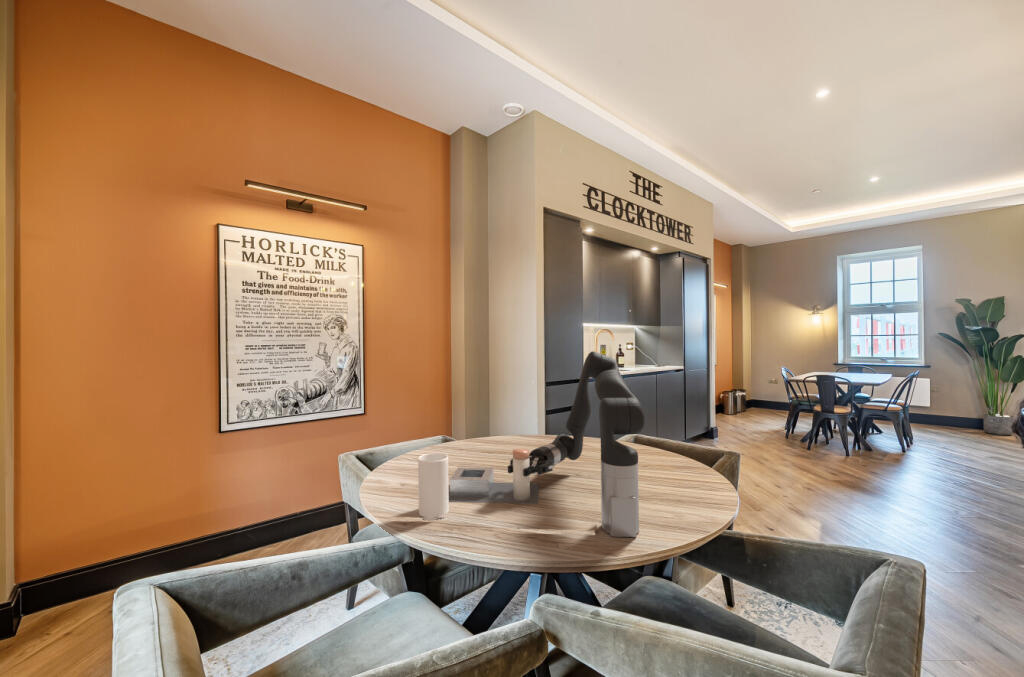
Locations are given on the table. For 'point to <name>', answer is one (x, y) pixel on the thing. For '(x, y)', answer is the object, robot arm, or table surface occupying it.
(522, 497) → the peg
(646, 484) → the table surface
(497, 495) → the mat
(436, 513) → the cup
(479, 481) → the socket
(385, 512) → the table surface
